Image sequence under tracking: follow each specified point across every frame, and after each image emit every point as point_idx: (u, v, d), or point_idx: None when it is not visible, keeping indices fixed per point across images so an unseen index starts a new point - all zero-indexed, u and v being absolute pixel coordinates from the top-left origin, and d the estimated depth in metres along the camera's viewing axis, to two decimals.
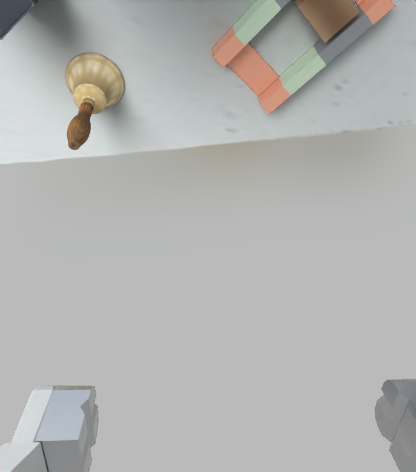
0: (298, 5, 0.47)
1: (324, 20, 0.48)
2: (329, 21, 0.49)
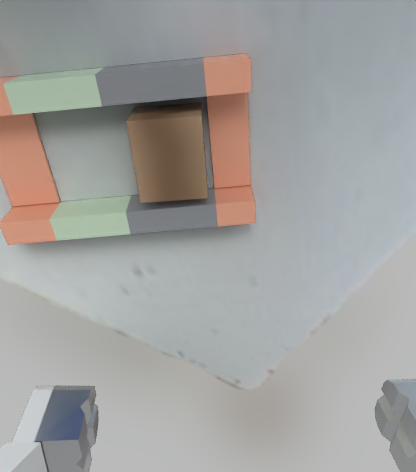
0: (129, 120, 0.26)
1: (155, 172, 0.28)
2: (161, 178, 0.28)
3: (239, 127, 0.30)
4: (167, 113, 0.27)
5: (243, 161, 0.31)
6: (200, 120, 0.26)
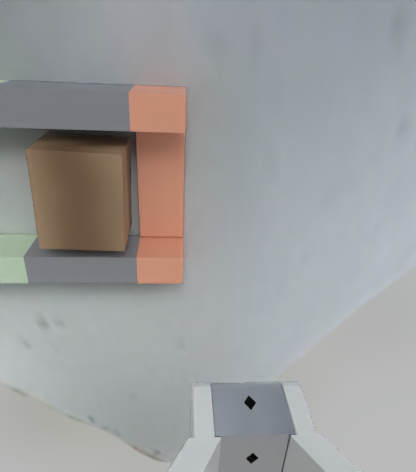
0: (30, 148, 0.21)
1: (60, 214, 0.22)
2: (67, 222, 0.23)
3: (172, 170, 0.25)
4: (82, 145, 0.22)
5: (175, 209, 0.26)
6: (120, 159, 0.21)
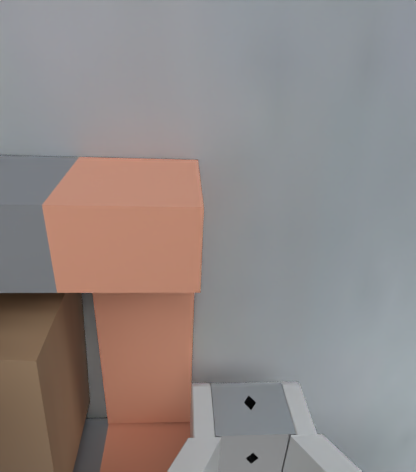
0: None
1: None
2: None
3: (169, 319, 0.12)
4: None
5: (175, 381, 0.13)
6: (32, 370, 0.08)
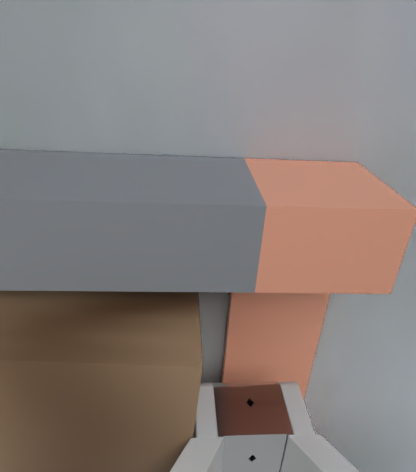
0: None
1: None
2: None
3: (301, 320, 0.12)
4: (96, 316, 0.09)
5: None
6: (196, 376, 0.08)
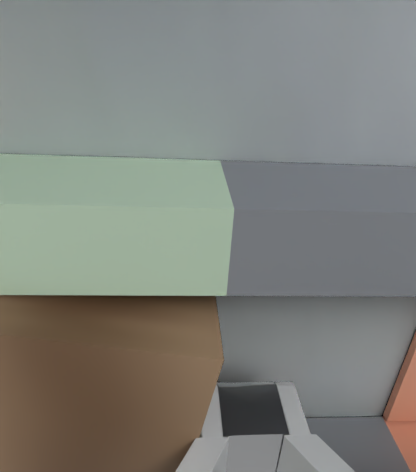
0: None
1: (34, 460, 0.09)
2: None
3: None
4: (114, 301, 0.09)
5: None
6: (216, 370, 0.08)
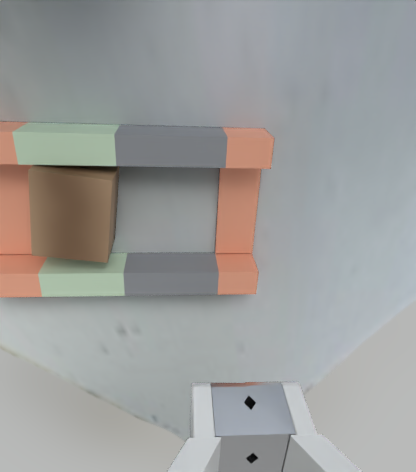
0: (32, 169, 0.24)
1: (53, 227, 0.25)
2: (59, 234, 0.26)
3: (248, 197, 0.29)
4: (78, 169, 0.25)
5: (247, 229, 0.31)
6: (110, 184, 0.24)
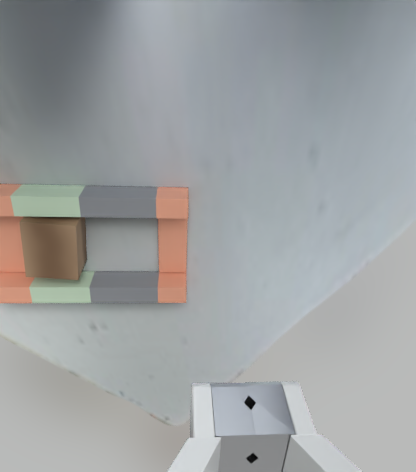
0: (22, 221, 0.36)
1: (39, 257, 0.37)
2: (43, 262, 0.38)
3: (180, 233, 0.41)
4: (53, 217, 0.37)
5: (181, 256, 0.42)
6: (74, 228, 0.36)
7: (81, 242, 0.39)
